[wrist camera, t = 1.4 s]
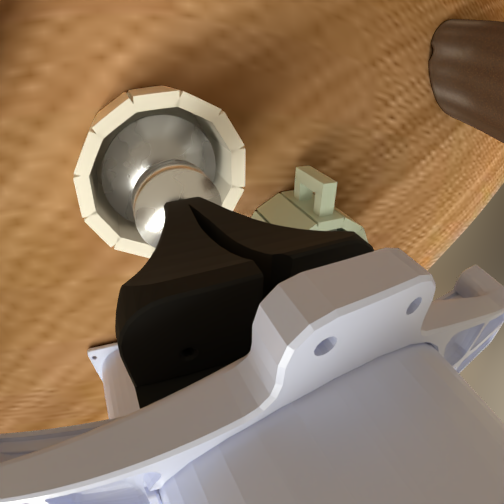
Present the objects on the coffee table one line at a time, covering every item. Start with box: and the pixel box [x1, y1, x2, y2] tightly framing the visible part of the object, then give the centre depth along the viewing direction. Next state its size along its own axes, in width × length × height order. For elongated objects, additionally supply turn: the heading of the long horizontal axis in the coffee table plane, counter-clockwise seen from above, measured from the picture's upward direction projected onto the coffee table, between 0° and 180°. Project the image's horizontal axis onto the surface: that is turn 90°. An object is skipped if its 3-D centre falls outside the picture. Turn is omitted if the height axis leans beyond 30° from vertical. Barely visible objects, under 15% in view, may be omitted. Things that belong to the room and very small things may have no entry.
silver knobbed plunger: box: [101, 114, 222, 248], centre depth 15 cm, size 6×6×6 cm
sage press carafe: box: [251, 166, 368, 243], centre depth 26 cm, size 12×9×6 cm
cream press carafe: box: [74, 85, 245, 258], centre depth 18 cm, size 12×9×6 cm
